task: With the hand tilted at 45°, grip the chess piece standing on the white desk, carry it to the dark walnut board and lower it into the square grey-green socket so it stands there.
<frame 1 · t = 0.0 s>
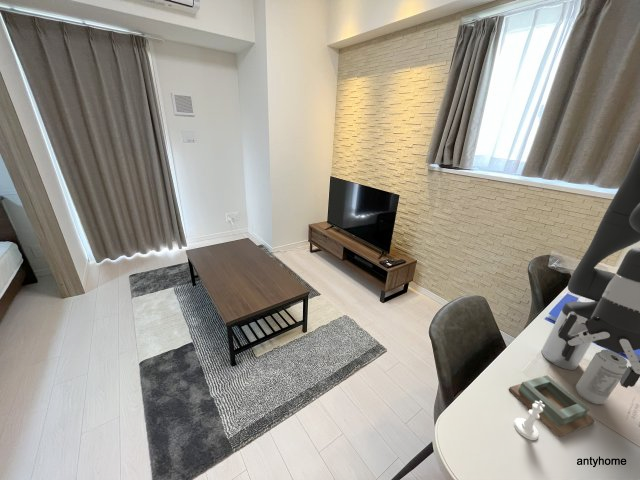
hand: (592, 371, 53), 22 cm above the table, tool pointing down, fingers open, 8 cm apart
energy drink can: (588, 396, 73), on the table
chess piece: (525, 429, 63), on the table
socket board: (548, 405, 70), on the table
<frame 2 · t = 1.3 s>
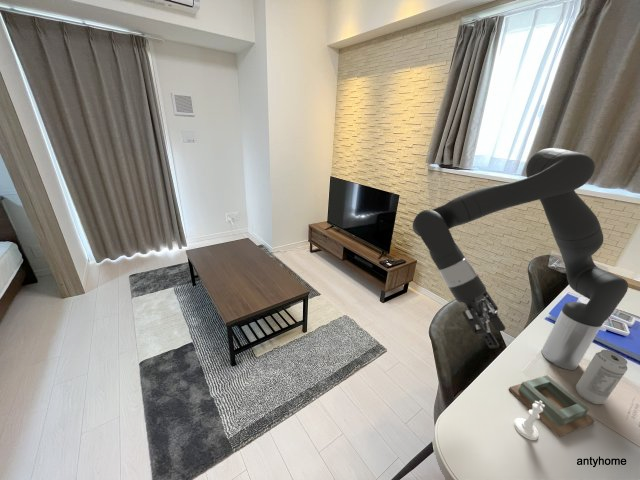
hand: (498, 338, 63), 21 cm above the table, tool tilted 45°, fingers open, 8 cm apart
nothing on the table moved.
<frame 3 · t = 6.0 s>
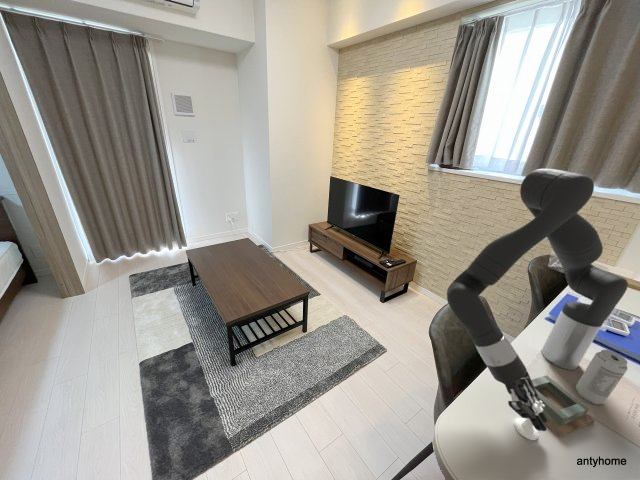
hand: (542, 425, 61), 4 cm above the table, tool tilted 45°, fingers closed on chess piece
chess piece: (525, 429, 63), on the table, touching gripper
everything else where it was.
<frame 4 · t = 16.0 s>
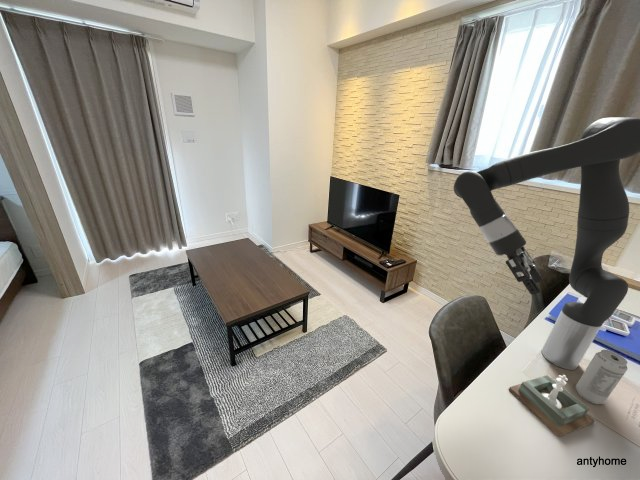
hand: (537, 287, 68), 31 cm above the table, tool tilted 45°, fingers open, 8 cm apart
chess piece: (548, 402, 70), point 1 cm above the table, touching socket board
everything else where it was.
at the end: chess piece 0.2 cm off-centre on the socket board, point 0.8 cm above the socket board's base; chess piece tilted 0°; the gripper is holding nothing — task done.
